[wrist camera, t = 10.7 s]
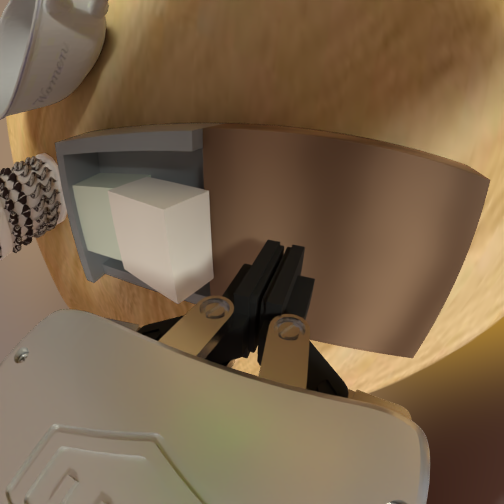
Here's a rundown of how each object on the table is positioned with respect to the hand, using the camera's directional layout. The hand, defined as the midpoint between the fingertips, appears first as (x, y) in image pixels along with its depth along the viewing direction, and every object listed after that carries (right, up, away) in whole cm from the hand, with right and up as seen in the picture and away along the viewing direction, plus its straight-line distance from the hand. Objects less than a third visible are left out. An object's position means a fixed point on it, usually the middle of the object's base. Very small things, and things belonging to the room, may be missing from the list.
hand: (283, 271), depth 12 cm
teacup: (-14, +18, +1) cm, 23 cm away
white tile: (-6, +2, +4) cm, 8 cm away
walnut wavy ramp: (+4, +2, +4) cm, 5 cm away
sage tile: (-11, +4, +7) cm, 14 cm away
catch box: (-9, +4, +7) cm, 12 cm away
